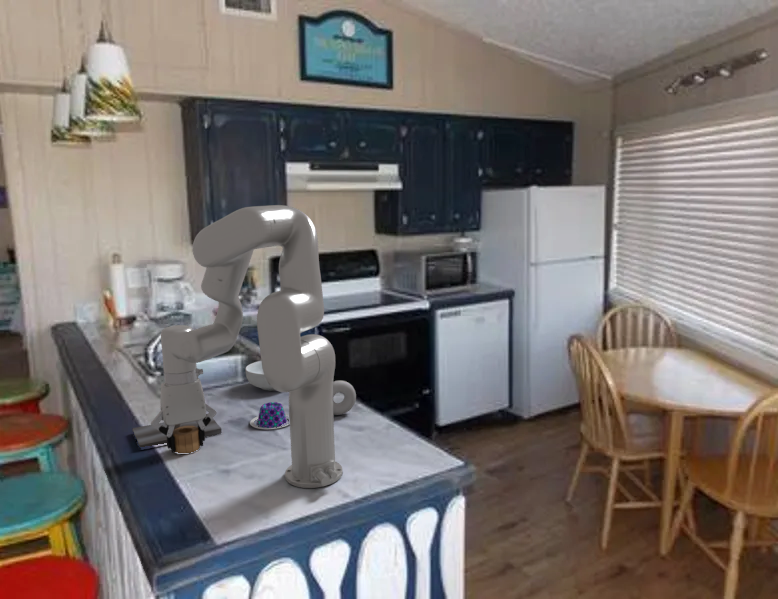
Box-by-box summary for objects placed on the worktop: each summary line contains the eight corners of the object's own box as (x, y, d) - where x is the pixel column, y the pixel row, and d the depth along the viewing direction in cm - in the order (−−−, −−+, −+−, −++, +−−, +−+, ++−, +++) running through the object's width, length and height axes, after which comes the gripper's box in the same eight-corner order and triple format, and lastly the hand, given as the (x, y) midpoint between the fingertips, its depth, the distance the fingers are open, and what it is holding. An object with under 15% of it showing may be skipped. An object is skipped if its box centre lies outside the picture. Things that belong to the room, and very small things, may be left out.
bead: (202, 451, 149) (200, 431, 149) (176, 456, 146) (175, 437, 146) (196, 442, 155) (195, 424, 154) (171, 448, 152) (170, 429, 151)
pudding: (250, 417, 172) (249, 400, 171) (293, 413, 174) (292, 396, 174) (249, 433, 160) (248, 414, 160) (295, 429, 163) (294, 410, 162)
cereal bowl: (246, 397, 189) (244, 375, 187) (247, 381, 205) (245, 361, 204) (301, 392, 192) (300, 370, 191) (298, 377, 208) (297, 357, 207)
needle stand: (221, 433, 160) (219, 402, 159) (140, 451, 150) (137, 418, 149) (209, 418, 171) (207, 389, 170) (132, 433, 161) (129, 403, 160)
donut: (323, 419, 169) (322, 384, 167) (320, 415, 172) (319, 381, 170) (358, 414, 172) (357, 380, 170) (354, 410, 175) (353, 376, 174)
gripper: (212, 367, 155) (217, 434, 158) (140, 378, 146) (147, 449, 149) (220, 374, 148) (225, 444, 151) (145, 387, 140) (152, 461, 143)
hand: (186, 446), depth 150 cm, fingers closed on bead, 6 cm apart
